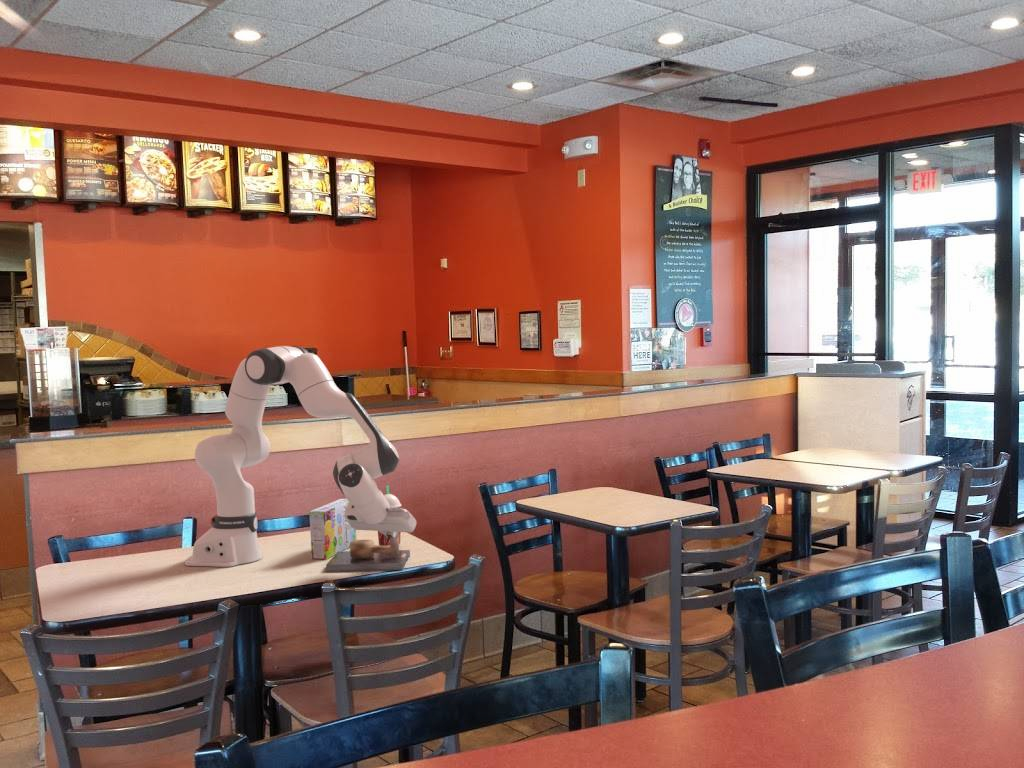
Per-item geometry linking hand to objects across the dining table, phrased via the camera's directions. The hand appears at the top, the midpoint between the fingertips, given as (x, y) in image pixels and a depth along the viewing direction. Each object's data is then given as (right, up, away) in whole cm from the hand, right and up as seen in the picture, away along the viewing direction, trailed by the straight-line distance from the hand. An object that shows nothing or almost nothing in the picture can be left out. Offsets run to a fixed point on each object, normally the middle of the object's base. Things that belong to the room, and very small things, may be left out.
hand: (391, 535), depth 264 cm
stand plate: (-7, -9, +4) cm, 12 cm away
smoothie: (-4, -8, +24) cm, 25 cm away
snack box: (-21, -9, +21) cm, 31 cm away
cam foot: (-5, -6, +3) cm, 9 cm away
